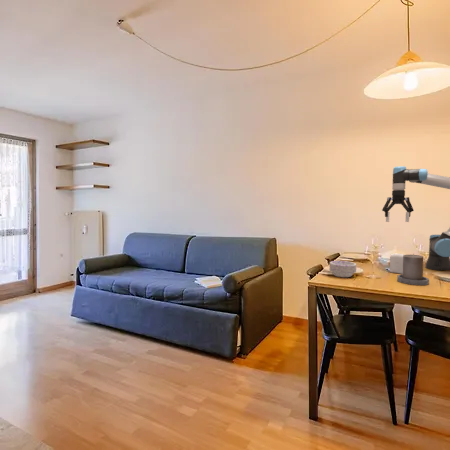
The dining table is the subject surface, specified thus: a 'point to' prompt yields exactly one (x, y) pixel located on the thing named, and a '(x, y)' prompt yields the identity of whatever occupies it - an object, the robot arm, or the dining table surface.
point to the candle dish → (413, 281)
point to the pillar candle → (413, 267)
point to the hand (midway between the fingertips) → (397, 221)
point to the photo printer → (396, 263)
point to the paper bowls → (342, 268)
